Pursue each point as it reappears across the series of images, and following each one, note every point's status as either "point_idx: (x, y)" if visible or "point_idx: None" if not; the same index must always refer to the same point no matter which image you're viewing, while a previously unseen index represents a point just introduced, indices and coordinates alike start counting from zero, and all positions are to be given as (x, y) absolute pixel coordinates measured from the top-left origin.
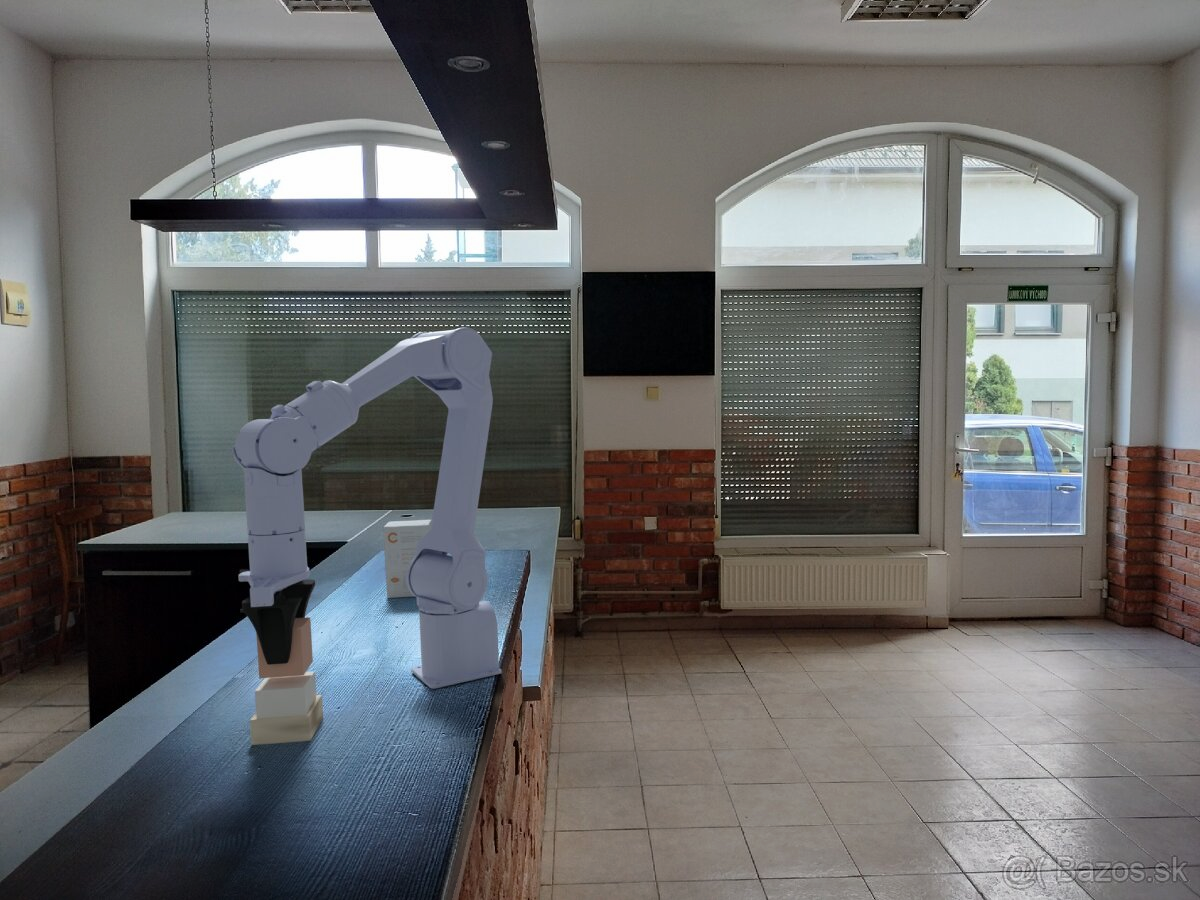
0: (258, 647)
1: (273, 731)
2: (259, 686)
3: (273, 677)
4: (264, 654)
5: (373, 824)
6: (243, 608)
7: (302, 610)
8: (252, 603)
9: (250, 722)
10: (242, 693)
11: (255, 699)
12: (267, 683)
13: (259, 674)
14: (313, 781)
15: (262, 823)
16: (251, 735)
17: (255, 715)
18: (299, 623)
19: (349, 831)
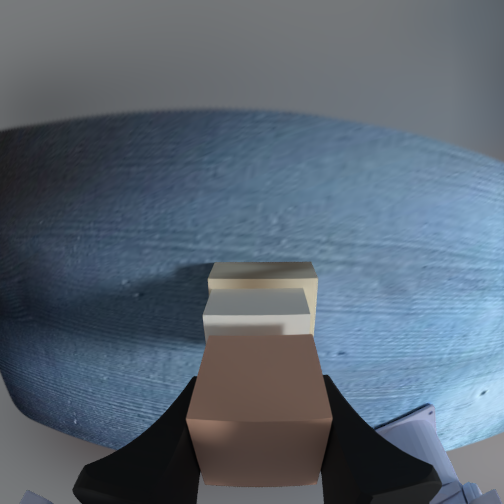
0: (196, 387)
1: None
2: (230, 317)
3: (284, 331)
4: (182, 391)
5: (56, 399)
6: (80, 473)
7: (323, 490)
8: (25, 498)
9: (208, 277)
10: (450, 178)
11: (206, 306)
12: (246, 329)
13: (207, 341)
14: (108, 358)
15: (37, 323)
16: (212, 268)
17: (229, 282)
18: (258, 480)
19: (45, 384)
